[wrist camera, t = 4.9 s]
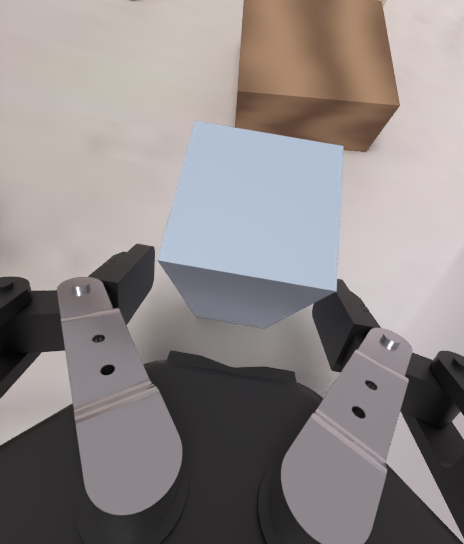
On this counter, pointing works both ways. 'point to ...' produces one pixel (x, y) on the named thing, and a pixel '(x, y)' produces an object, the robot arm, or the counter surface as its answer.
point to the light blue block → (254, 225)
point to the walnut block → (316, 71)
